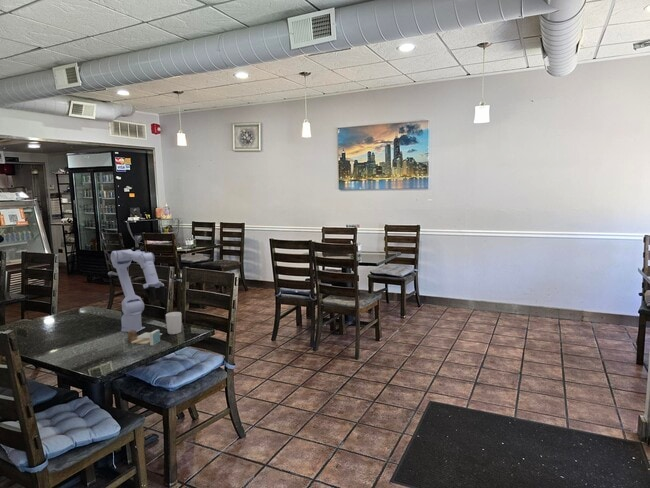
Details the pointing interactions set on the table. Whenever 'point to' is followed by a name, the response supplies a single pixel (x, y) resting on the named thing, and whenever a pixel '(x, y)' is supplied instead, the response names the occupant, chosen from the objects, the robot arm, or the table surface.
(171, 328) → the white cup
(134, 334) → the turner
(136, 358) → the table surface
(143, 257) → the robot arm
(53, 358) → the table surface
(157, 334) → the tile
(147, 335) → the felt mat
